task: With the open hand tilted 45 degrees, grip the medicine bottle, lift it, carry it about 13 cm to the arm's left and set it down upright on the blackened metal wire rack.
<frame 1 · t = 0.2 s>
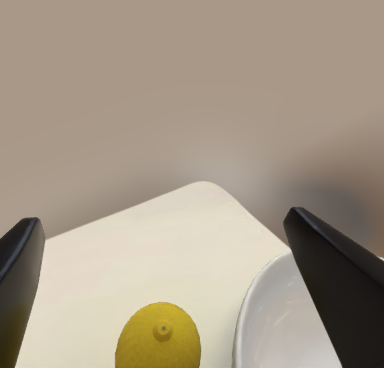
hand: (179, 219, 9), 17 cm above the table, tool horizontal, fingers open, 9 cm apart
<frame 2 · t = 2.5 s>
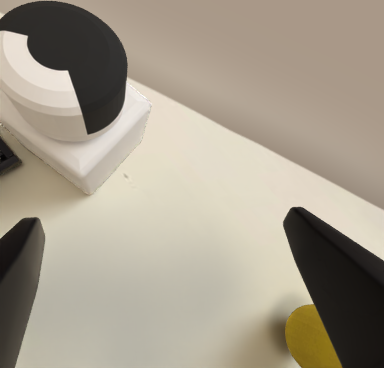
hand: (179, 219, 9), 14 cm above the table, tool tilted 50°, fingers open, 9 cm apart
medicine bottle: (86, 142, 23), on the table
lemon: (291, 325, 25), on the table
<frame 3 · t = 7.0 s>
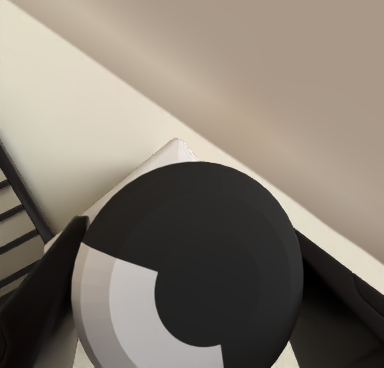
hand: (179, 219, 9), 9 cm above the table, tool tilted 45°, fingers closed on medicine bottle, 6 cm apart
medicine bottle: (154, 234, 17), on the table, touching gripper
when the fingers open (10 cm above the table, at t = 12.4 s): medicine bottle stays where it is, resting on wire rack.
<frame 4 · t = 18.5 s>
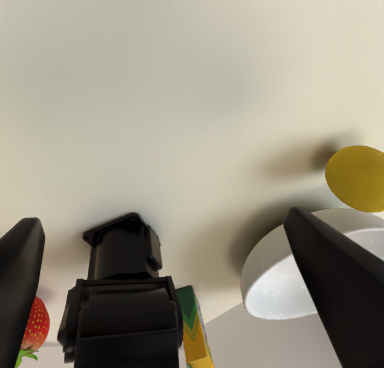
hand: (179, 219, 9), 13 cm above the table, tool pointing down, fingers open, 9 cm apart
crayon box: (187, 295, 41), on the table
fruit: (34, 294, 33), on the table
serving bowl: (295, 238, 37), on the table
lemon: (333, 153, 27), on the table
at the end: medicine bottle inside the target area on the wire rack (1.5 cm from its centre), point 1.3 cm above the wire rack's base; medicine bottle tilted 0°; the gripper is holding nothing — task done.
